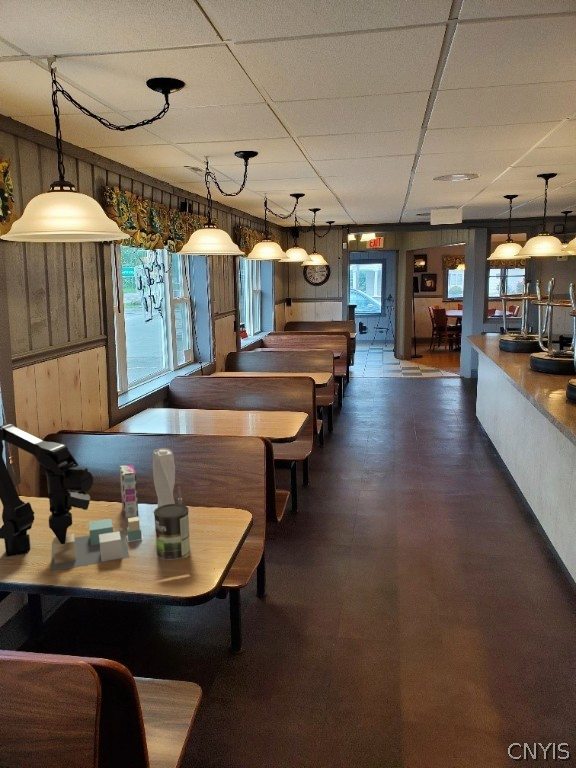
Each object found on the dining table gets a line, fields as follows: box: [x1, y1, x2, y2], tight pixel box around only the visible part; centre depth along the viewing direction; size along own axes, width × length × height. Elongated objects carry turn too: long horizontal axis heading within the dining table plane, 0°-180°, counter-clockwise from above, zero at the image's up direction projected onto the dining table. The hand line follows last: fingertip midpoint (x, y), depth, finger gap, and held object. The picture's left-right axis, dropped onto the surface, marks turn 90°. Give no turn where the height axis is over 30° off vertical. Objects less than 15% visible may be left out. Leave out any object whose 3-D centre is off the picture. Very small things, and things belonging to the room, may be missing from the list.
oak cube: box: [52, 532, 76, 564], centre depth 176 cm, size 6×6×6 cm
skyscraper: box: [152, 447, 183, 508], centre depth 198 cm, size 8×8×28 cm
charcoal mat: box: [50, 529, 130, 572], centre depth 182 cm, size 22×21×1 cm
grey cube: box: [99, 530, 122, 562], centre depth 177 cm, size 6×6×6 cm
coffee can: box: [153, 503, 191, 561], centre depth 178 cm, size 10×10×14 cm
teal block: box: [88, 518, 114, 545], centre depth 188 cm, size 7×7×5 cm
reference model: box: [125, 516, 144, 543], centre depth 189 cm, size 5×5×7 cm
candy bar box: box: [119, 464, 139, 519], centre depth 210 cm, size 11×5×16 cm, turn 21°
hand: (63, 537), depth 176 cm, fingers open, 9 cm apart
